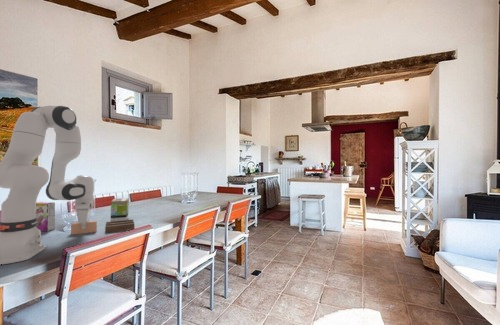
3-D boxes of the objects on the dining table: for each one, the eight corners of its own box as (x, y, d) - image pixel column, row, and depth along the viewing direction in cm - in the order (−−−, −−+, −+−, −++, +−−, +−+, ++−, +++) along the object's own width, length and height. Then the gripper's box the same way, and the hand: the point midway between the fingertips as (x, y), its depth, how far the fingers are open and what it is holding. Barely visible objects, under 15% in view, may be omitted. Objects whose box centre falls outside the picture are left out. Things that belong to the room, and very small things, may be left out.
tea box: (127, 222, 160) (127, 200, 160) (110, 223, 156) (110, 201, 156) (128, 217, 174) (128, 197, 174) (112, 218, 170) (113, 198, 170)
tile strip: (96, 231, 138) (96, 221, 138) (70, 234, 132) (71, 223, 132) (96, 230, 140) (97, 220, 140) (71, 233, 134) (71, 222, 134)
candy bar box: (29, 231, 138) (30, 202, 138) (38, 228, 143) (38, 201, 143) (47, 231, 137) (47, 203, 137) (55, 229, 142) (55, 201, 142)
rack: (134, 229, 143) (134, 223, 143) (105, 232, 136) (105, 226, 136) (133, 224, 154) (133, 219, 154) (106, 227, 146) (106, 222, 146)
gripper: (80, 201, 144) (80, 224, 144) (75, 207, 126) (74, 233, 126) (92, 200, 147) (92, 223, 147) (89, 206, 129) (89, 231, 129)
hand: (84, 227), depth 136 cm, fingers closed on tile strip, 2 cm apart
